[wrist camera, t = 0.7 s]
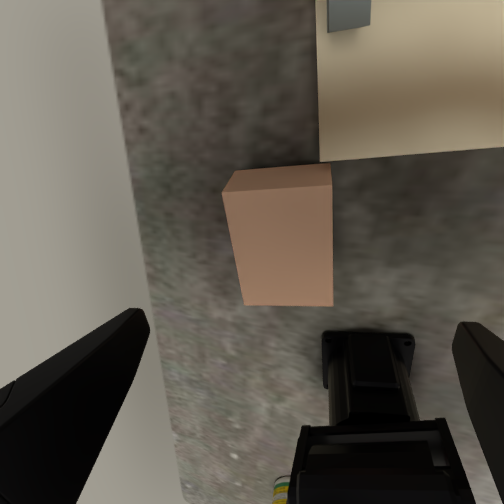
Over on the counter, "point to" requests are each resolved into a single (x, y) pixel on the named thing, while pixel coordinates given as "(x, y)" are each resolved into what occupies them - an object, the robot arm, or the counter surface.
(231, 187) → the tan cardboard-like brick
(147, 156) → the counter surface
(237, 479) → the counter surface
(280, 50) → the counter surface
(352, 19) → the dock
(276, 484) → the supplement bottle
